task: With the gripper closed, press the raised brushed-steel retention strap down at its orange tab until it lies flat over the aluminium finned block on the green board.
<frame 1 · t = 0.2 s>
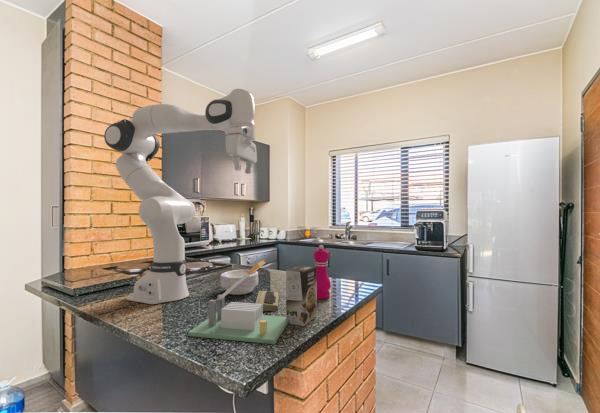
hand: (243, 172, 106), 48 cm above the countertop, tool pointing down, fingers open, 8 cm apart
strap: (238, 283, 83), point 13 cm above the countertop, hinge at 40.0°
paper bowls: (239, 292, 119), on the countertop
coffee box: (302, 321, 89), on the countertop, touching heatsink board
heatsink board: (242, 327, 82), on the countertop
computer: (267, 305, 104), on the countertop
pepper mill: (321, 297, 112), on the countertop
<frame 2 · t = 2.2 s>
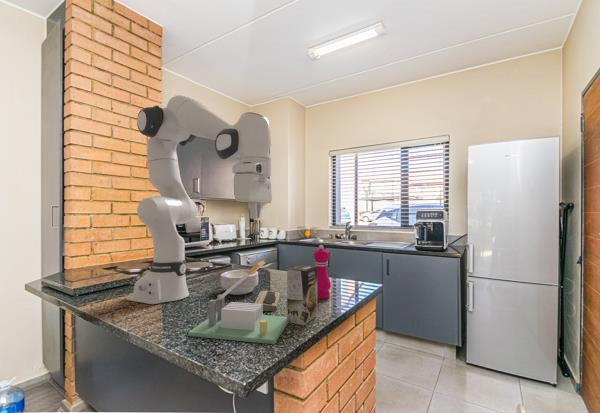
hand: (255, 218, 82), 31 cm above the countertop, tool pointing down, fingers closed
nothing on the countertop moved.
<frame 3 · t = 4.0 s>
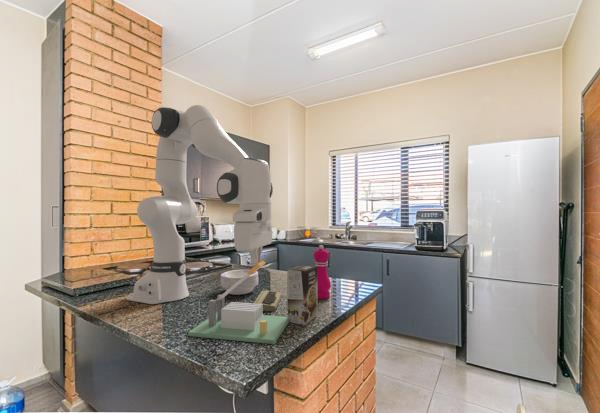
hand: (256, 263, 82), 18 cm above the countertop, tool pointing down, fingers closed, pressing on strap
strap: (238, 283, 83), point 13 cm above the countertop, hinge at 39.7°, touching gripper
everything else where it was.
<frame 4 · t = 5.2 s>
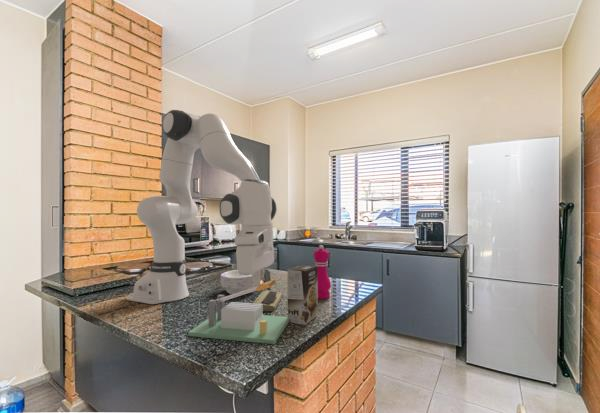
hand: (258, 284, 81), 12 cm above the countertop, tool pointing down, fingers closed, pressing on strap
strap: (243, 292, 82), point 10 cm above the countertop, hinge at 19.5°, touching gripper
everything else where it was.
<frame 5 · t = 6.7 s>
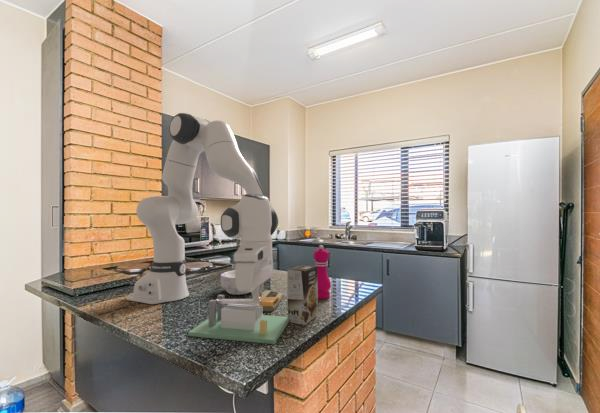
hand: (257, 300, 81), 8 cm above the countertop, tool pointing down, fingers closed, pressing on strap
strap: (244, 301, 82), point 8 cm above the countertop, hinge at 3.4°, touching gripper
everything else where it was.
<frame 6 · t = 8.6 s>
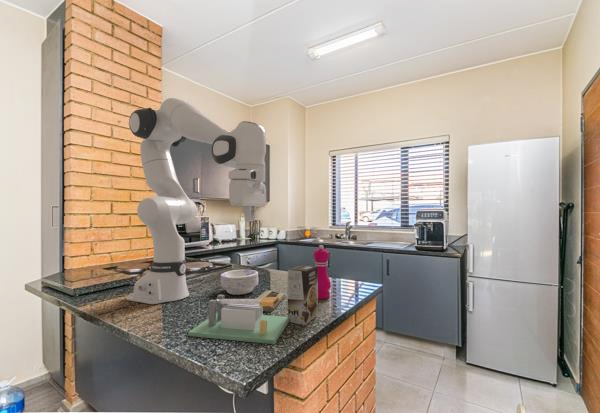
hand: (249, 221, 87), 30 cm above the countertop, tool pointing down, fingers closed
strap: (244, 301, 82), point 8 cm above the countertop, hinge at 3.3°
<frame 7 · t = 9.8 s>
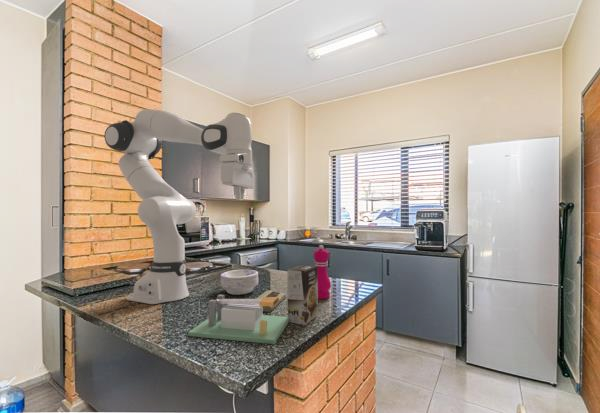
hand: (239, 200, 100), 37 cm above the countertop, tool pointing down, fingers closed
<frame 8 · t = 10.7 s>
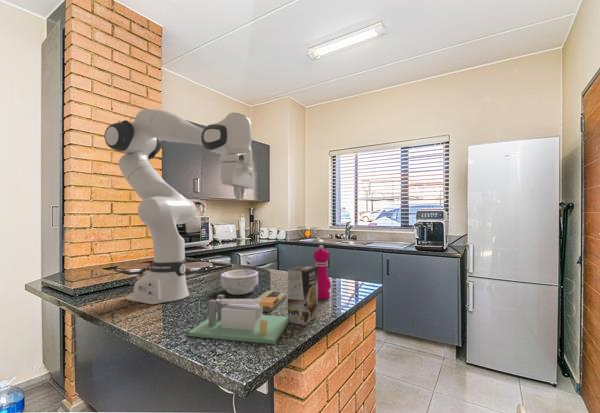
hand: (239, 200, 100), 37 cm above the countertop, tool pointing down, fingers closed
at the end: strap at +3° (first picture: +40°) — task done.
